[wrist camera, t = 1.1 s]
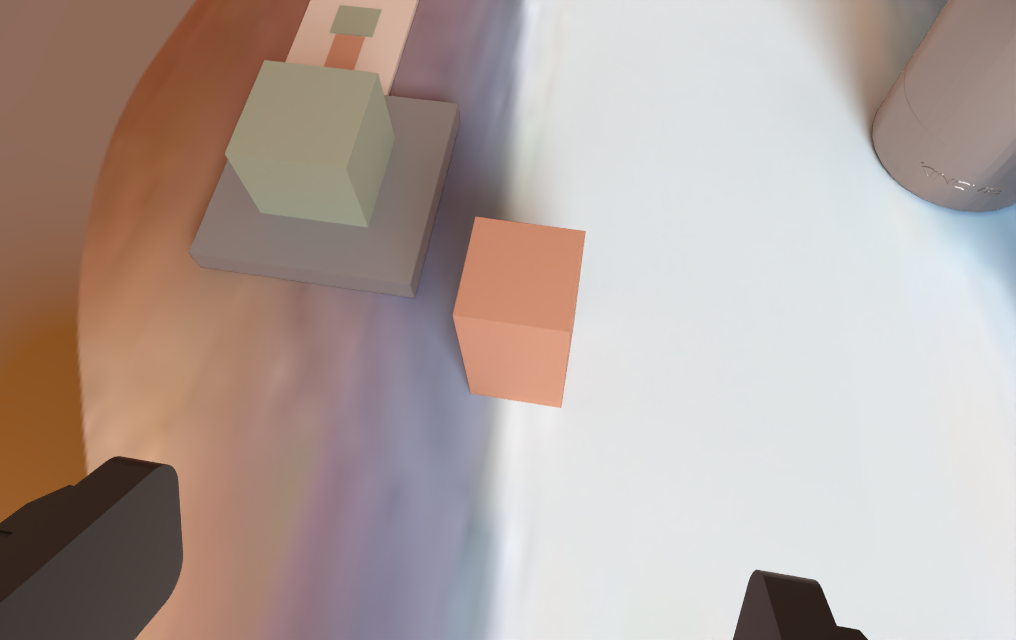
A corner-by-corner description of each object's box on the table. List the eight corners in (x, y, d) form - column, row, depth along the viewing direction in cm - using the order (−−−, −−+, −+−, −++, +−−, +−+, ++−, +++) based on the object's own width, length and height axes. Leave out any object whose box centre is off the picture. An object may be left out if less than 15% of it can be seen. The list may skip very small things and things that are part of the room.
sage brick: (294, 125, 41) (264, 60, 36) (395, 138, 40) (378, 72, 36) (260, 212, 38) (224, 153, 34) (368, 227, 38) (346, 169, 33)
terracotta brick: (487, 312, 37) (475, 216, 29) (573, 325, 37) (585, 231, 29) (471, 393, 35) (452, 315, 27) (560, 407, 35) (569, 332, 27)
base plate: (269, 98, 44) (260, 80, 42) (460, 121, 43) (458, 103, 41) (200, 266, 39) (188, 253, 37) (414, 298, 38) (410, 284, 36)
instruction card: (319, -15, 48) (317, -20, 48) (420, -5, 47) (419, -10, 47) (273, 99, 44) (270, 94, 43) (383, 112, 43) (382, 108, 43)
